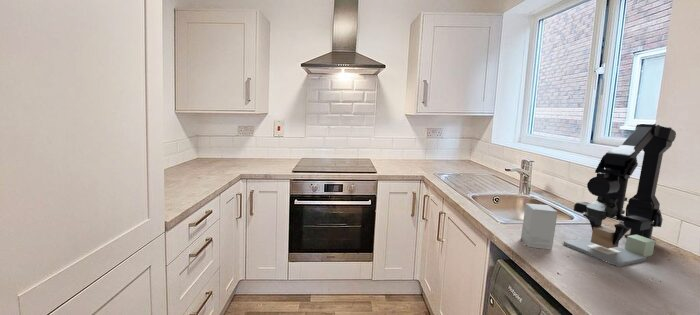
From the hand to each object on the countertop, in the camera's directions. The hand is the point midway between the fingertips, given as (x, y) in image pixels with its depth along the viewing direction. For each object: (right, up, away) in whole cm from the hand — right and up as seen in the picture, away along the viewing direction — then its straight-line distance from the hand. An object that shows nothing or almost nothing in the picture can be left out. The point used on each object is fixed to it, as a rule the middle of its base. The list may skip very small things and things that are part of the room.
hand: (604, 241), depth 102 cm
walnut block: (0, -1, 0) cm, 1 cm away
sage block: (+11, -4, +1) cm, 12 cm away
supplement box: (-19, -2, +4) cm, 20 cm away
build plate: (0, -4, 0) cm, 4 cm away
